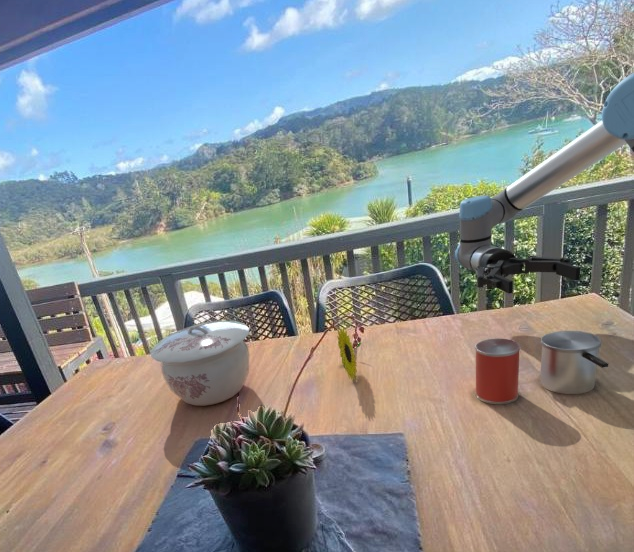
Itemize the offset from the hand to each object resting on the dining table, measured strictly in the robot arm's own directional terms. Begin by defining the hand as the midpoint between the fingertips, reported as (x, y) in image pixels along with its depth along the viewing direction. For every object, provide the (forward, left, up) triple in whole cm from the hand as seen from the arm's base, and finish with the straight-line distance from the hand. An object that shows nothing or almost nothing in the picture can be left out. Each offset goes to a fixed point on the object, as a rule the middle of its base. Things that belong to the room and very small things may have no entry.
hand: (544, 280), depth 94 cm
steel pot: (+1, +14, -19) cm, 24 cm away
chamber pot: (+79, -14, -19) cm, 83 cm away
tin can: (+15, +11, -19) cm, 27 cm away
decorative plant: (+40, -15, -19) cm, 47 cm away
